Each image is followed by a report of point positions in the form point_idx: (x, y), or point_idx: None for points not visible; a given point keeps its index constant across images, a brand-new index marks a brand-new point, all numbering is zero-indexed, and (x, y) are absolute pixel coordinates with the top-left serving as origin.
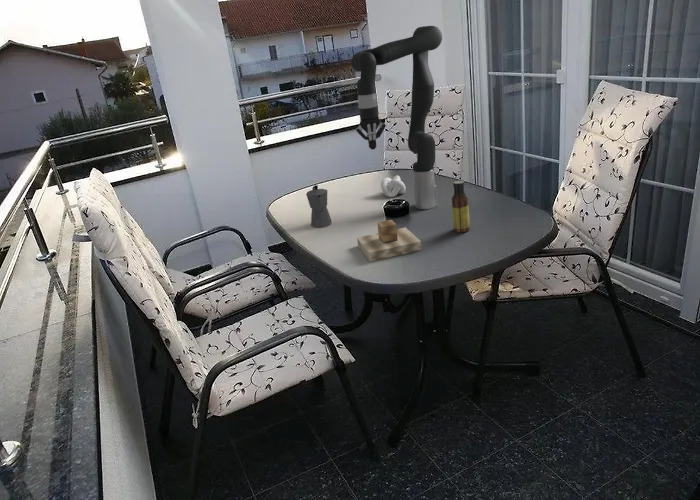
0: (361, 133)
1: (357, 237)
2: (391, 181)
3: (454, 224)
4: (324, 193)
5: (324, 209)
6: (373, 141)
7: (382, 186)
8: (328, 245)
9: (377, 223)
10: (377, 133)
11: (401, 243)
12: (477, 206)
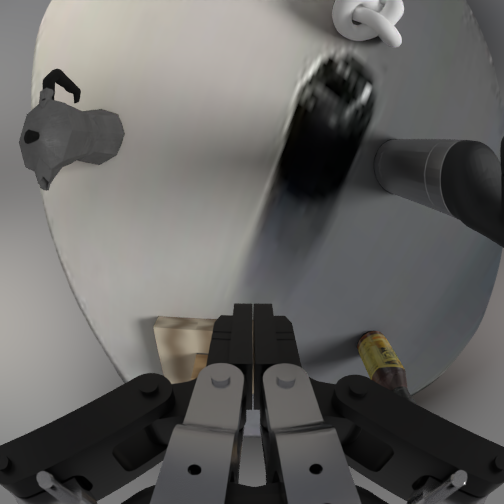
0: (97, 482)
1: (154, 327)
2: (371, 19)
3: (360, 352)
4: (59, 163)
5: (85, 154)
6: (259, 401)
7: (337, 9)
8: (102, 281)
9: (191, 376)
10: (369, 419)
11: None
12: (461, 245)
